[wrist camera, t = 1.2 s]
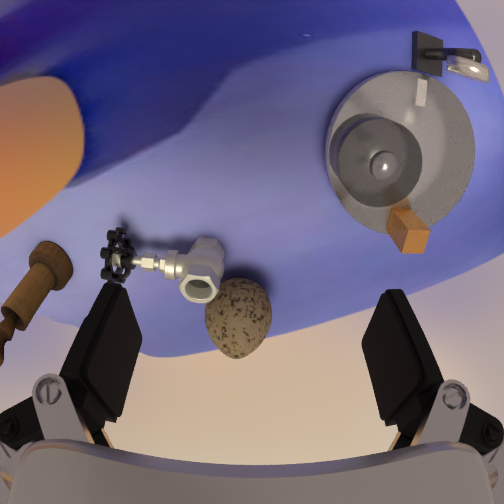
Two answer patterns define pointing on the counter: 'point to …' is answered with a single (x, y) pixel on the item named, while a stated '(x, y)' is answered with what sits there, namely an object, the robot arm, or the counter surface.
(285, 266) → the counter surface
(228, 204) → the counter surface
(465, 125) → the turntable
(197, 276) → the valve
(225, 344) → the decorative egg
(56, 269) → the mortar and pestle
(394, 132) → the cover
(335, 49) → the counter surface
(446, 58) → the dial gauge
